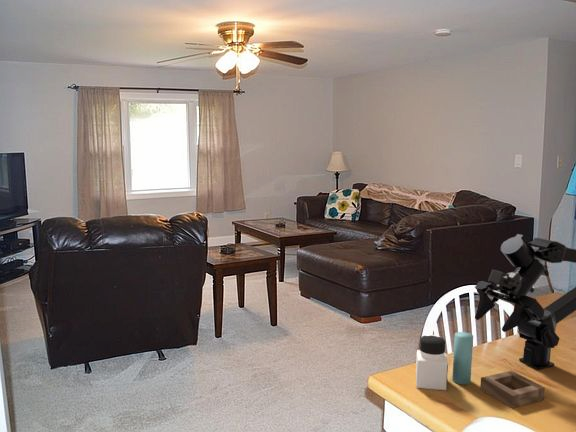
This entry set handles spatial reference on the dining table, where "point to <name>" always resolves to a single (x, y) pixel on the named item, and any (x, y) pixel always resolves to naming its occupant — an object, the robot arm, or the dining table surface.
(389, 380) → the dining table surface
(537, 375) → the dining table surface
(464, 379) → the peg
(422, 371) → the medicine bottle
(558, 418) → the dining table surface
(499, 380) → the hole block
